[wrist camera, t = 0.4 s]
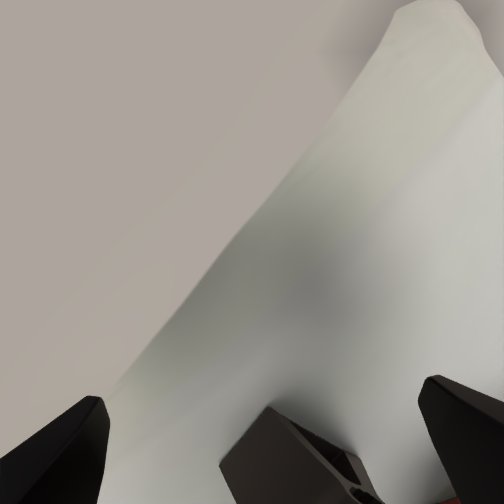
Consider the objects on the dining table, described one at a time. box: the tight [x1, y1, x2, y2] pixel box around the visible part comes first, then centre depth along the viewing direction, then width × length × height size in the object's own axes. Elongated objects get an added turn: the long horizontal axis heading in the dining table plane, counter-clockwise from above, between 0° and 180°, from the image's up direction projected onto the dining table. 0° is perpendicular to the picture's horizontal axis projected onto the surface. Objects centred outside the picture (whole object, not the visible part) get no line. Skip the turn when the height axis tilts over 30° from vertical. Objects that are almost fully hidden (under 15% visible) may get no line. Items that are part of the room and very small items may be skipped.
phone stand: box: [219, 407, 385, 504], centre depth 14 cm, size 9×6×12 cm, turn 54°
